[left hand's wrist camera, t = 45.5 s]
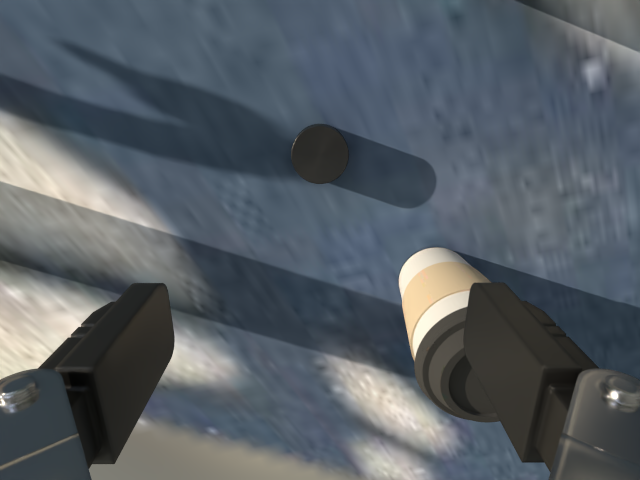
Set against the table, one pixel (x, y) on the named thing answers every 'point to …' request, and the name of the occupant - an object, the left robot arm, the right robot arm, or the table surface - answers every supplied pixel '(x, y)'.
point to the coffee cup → (442, 331)
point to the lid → (319, 153)
